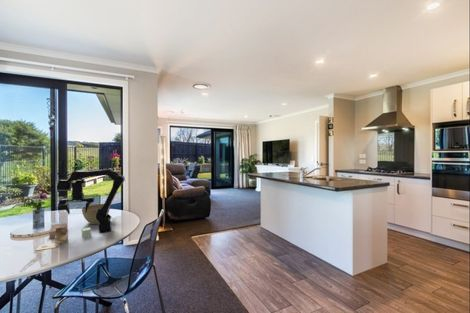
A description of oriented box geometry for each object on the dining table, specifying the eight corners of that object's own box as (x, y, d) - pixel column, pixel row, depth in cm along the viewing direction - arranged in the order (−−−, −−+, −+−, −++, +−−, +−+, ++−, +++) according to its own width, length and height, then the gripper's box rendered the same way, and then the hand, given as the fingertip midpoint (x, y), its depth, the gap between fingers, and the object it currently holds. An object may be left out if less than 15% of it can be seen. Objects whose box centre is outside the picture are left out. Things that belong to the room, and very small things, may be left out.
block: (90, 234, 146) (89, 227, 146) (91, 236, 143) (90, 229, 143) (81, 236, 144) (81, 229, 143) (82, 238, 140) (82, 230, 140)
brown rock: (65, 236, 143) (65, 229, 143) (48, 239, 139) (48, 231, 138) (67, 228, 157) (66, 222, 157) (51, 231, 152) (51, 224, 152)
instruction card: (59, 243, 132) (59, 242, 132) (55, 247, 126) (55, 247, 126) (39, 245, 128) (39, 245, 128) (35, 250, 122) (35, 250, 122)
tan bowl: (115, 219, 178) (115, 204, 177) (99, 227, 160) (99, 210, 159) (93, 218, 180) (93, 203, 179) (75, 226, 162) (75, 209, 161)
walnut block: (66, 232, 138) (66, 225, 137) (64, 234, 134) (64, 227, 133) (57, 233, 136) (57, 226, 136) (55, 235, 132) (55, 228, 132)
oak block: (67, 239, 138) (67, 232, 138) (65, 242, 134) (65, 235, 133) (57, 240, 136) (57, 233, 136) (55, 243, 131) (54, 236, 131)
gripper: (95, 187, 158) (96, 209, 159) (63, 188, 151) (63, 211, 151) (93, 189, 148) (93, 213, 149) (58, 191, 141) (58, 216, 141)
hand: (77, 213), depth 148 cm, fingers open, 9 cm apart
